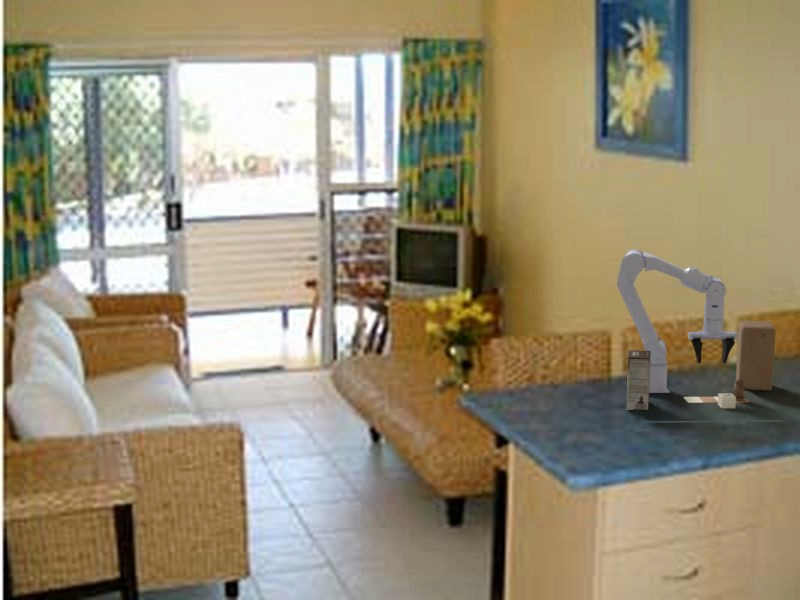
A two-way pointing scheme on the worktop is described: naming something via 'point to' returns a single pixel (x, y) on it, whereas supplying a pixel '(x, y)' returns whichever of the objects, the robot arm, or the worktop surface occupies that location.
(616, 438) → the worktop surface
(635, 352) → the coffee box
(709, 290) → the robot arm
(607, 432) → the worktop surface
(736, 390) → the pawn
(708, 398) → the board
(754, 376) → the wooden block
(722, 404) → the die
